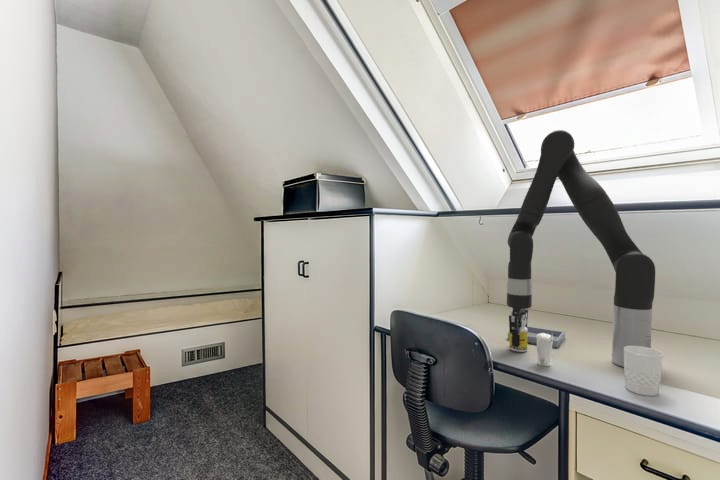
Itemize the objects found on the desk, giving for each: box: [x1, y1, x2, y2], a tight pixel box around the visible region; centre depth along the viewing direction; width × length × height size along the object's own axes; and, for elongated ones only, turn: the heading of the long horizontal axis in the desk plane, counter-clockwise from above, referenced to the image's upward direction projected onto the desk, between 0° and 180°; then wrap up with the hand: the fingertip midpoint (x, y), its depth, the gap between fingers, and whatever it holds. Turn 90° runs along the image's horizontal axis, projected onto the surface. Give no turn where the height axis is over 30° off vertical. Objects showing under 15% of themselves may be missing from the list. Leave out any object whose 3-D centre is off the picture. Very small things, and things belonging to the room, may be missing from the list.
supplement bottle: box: [508, 320, 528, 353], centre depth 126 cm, size 5×5×10 cm
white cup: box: [623, 346, 664, 397], centre depth 96 cm, size 8×8×10 cm
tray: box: [507, 325, 566, 349], centre depth 139 cm, size 16×14×2 cm
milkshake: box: [536, 333, 553, 367], centre depth 113 cm, size 5×5×10 cm
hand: (518, 343), depth 126 cm, fingers closed on supplement bottle, 5 cm apart
